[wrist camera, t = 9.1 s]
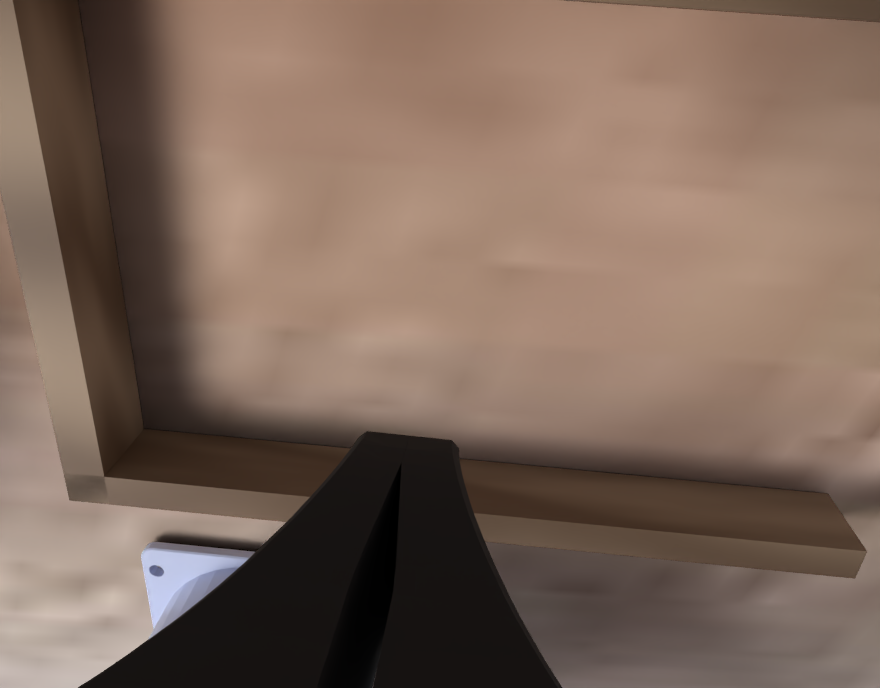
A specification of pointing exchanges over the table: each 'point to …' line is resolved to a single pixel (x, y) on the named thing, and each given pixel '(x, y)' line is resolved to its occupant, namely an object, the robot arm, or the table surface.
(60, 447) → the brown wooden flat frame
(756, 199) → the table surface
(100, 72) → the table surface
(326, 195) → the table surface
